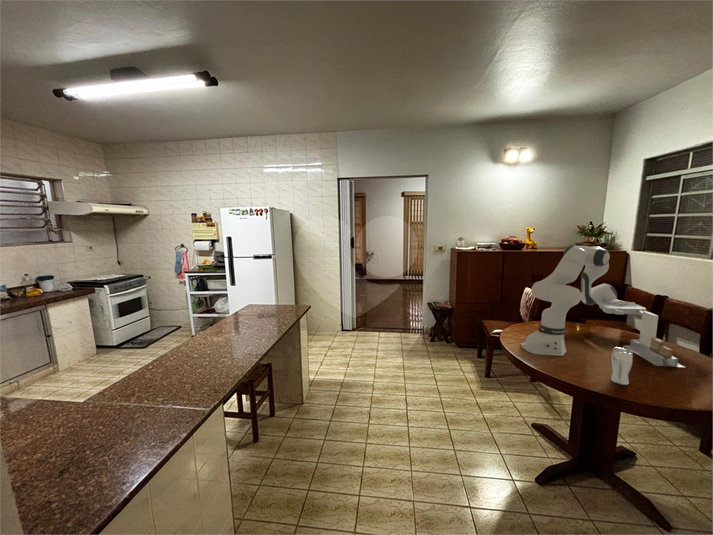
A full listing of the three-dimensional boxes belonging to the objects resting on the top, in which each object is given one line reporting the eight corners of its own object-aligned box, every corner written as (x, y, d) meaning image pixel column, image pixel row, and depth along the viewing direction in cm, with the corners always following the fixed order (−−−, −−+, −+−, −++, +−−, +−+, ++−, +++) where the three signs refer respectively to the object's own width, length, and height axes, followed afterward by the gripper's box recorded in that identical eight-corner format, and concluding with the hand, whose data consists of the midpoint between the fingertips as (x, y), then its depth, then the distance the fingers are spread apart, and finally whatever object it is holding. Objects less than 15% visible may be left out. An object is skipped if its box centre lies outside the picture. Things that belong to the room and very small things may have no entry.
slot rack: (655, 368, 141) (656, 357, 141) (622, 347, 165) (623, 338, 165) (685, 370, 138) (687, 359, 138) (647, 349, 162) (648, 340, 162)
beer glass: (633, 383, 128) (636, 351, 126) (624, 386, 126) (627, 354, 124) (615, 376, 135) (617, 346, 133) (606, 379, 132) (608, 348, 130)
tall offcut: (657, 359, 147) (659, 341, 145) (649, 355, 151) (651, 337, 150) (661, 360, 146) (664, 341, 145) (654, 356, 151) (656, 338, 150)
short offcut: (665, 364, 141) (667, 349, 140) (657, 360, 146) (659, 345, 145) (670, 365, 141) (672, 349, 140) (662, 360, 146) (664, 345, 145)
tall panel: (649, 355, 152) (653, 315, 149) (638, 349, 160) (642, 311, 157) (653, 355, 151) (658, 315, 149) (642, 349, 159) (647, 311, 156)
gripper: (598, 301, 182) (611, 307, 168) (636, 302, 177) (653, 308, 163) (597, 311, 183) (610, 318, 169) (635, 312, 178) (652, 319, 164)
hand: (632, 313), depth 166 cm, fingers open, 8 cm apart
